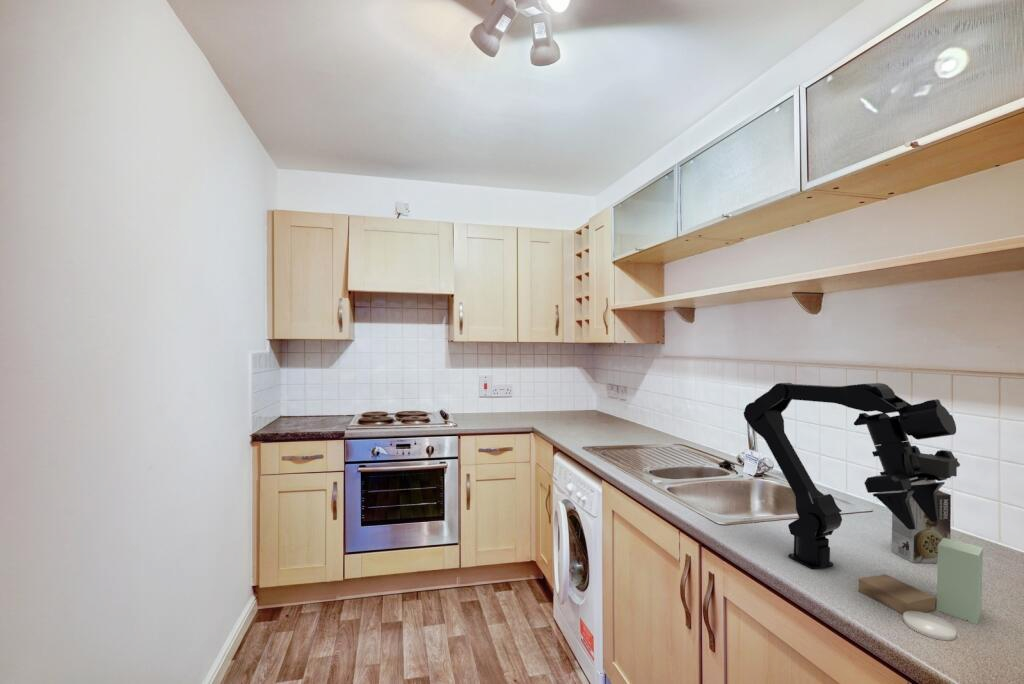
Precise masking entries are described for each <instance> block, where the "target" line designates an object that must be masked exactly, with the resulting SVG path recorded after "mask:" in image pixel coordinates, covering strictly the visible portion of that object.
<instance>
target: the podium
mask: <svg viewBox="0 0 1024 684" xmlns="http://www.w3.org/2000/svg"><path fill="white" fill-rule="evenodd" d="M857 589H858V590H857V591H858V592H859V591H860V593H861V592H862V594H863V593H864V595H865V594H866V595H865V596H867V595H868V596H867V597H869V596H870V597H869V598H871V597H872V598H871V599H873V600H875V601H877V602H879V603H881V604H882V605H884V604H885V605H884V606H886V605H887V607H888V606H889V608H890V607H891V608H890V609H892V608H893V609H892V610H894V611H896V612H898V613H900V614H902V615H903V614H904V612H906V611H919V612H925V613H929V612H934V611H936V596H934V595H931V594H929V593H926V592H925V591H923V590H920V589H918V588H916V587H914V586H912V585H910V584H908V583H905V582H903V581H901V580H899V579H897V578H894V577H893V576H891V575H888V574H886V573H883V574H877V575H873V576H872V575H871V576H867V577H861V578H858V587H857Z"/></svg>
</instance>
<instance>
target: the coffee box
mask: <svg viewBox="0 0 1024 684" xmlns="http://www.w3.org/2000/svg"><path fill="white" fill-rule="evenodd" d="M907 491H908V490H907ZM909 502H910V506H911V510H912V514H913V518H914V522H915V527H916V529H914V530H909V529H908V528H907V527H906V526H905V525H904V524H903V523H902V522H901V521H900V520H899V519H898V518H897V517H896V516H895V515H894V514H893V513H892V512H891V550H890V551H891V552H892V553H894V554H895V555H897V554H898V556H899V557H901V558H903V559H905V560H907V561H909V563H912V564H938V544H939V543H940V542H941V540H942V539H943V538H947V539H951V530H952V529H951V527H952V526H951V519H952V518H951V516H952V515H951V514H952V513H951V512H952V510H951V509H952V508H951V507H952V494H949V493H948V492H947V493H946V492H943V491H942V490H940V489H939V490H938V491H937V509H938V521H937V522H931V521H930V520H929V518H928V517H927V516H926V515H925V513H924V512H923V511H922V509H921V508H920V507H919V505H918V504H917V503H916V501H915V500H914V499H913V497H912V496H911V497H910V499H909Z"/></svg>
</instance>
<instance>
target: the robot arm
mask: <svg viewBox="0 0 1024 684" xmlns="http://www.w3.org/2000/svg"><path fill="white" fill-rule="evenodd" d="M792 400H794V401H807V402H819V403H831V404H837V405H841V406H844V407H847V408H849V409H854V410H858V411H861V412H860V413H858V414H859V415H858V417H857V418H856V419H855V421H854V422H853V426H865V425H866V427H867V430H868V433H869V435H870V437H871V440H872V443H873V446H874V449H875V450H874V451H871V453H872V456H873V457H874V458H875V457H878V459H879V461H880V462H879V463H881V467H882V469H883V471H879V474H880V475H874V476H869V477H866V480H864V482H863V483H864V486H865V489H866V493H868V494H871V493H872V496H873V497H874V498H875V497H876V498H877V499H878V500H879V501H880V502H881V504H883V505H884V506H885V507H886V508H887V509H888V510H889V511H890V512H891V514H892V513H893V514H894V515H895V516H896V517H897V518H898V519H899V520H900V521H901V522H902V523H903V524H904V525H905V526H906V527H907V528H908V529H909V530H914V529H916V527H915V522H914V518H913V514H912V510H911V506H910V502H909V499H910V497H911V496H912V497H913V499H914V500H915V501H916V503H917V504H918V505H919V507H920V508H921V509H922V511H923V512H924V513H925V515H926V516H927V517H928V518H929V520H930V521H931V522H937V521H938V509H937V491H938V490H939V491H940V489H941V488H942V486H944V485H945V481H947V479H950V478H952V477H957V476H958V475H957V472H958V470H957V469H958V468H959V467H960V466H961V464H960V462H959V461H958V458H957V457H955V455H954V454H953V452H952V451H950V450H945V449H944V450H943V449H941V450H937V451H936V453H935V454H932V453H922V452H921V451H920V448H919V447H918V446H917V445H911V442H910V440H909V437H910V436H911V437H913V439H915V440H919V441H920V440H925V439H926V440H927V439H932V438H940V437H945V436H954V435H955V434H956V433H957V424H956V422H955V419H954V416H953V415H952V414H950V412H949V411H948V409H947V408H946V407H945V406H943V404H942V403H941V401H940V399H929V400H926V401H924V402H920V403H916V404H911V403H909V402H907V400H904V399H903V398H901V397H899V396H898V395H896V394H895V392H894V390H893V389H892V388H891V387H890V386H889V385H888V384H886V383H883V382H882V383H881V382H875V383H872V382H871V383H860V384H859V383H858V384H851V385H841V386H839V385H838V386H837V385H820V384H819V385H818V384H817V385H816V384H803V383H802V384H799V383H792V382H779V383H776V384H774V385H773V386H772V387H771V388H770V389H769V390H768V391H766V392H765V393H763V394H762V395H760V396H758V398H756V399H754V401H753V402H750V403H748V404H747V405H746V406H745V408H744V411H743V417H744V420H745V421H746V422H747V424H748V425H749V426H750V428H751V429H752V430H753V431H754V432H755V433H757V435H759V436H760V437H761V438H762V439H763V440H764V441H765V443H766V445H767V446H768V449H769V450H770V452H771V454H772V455H773V457H774V459H775V461H776V463H777V465H778V467H779V468H780V471H781V472H782V474H783V476H784V478H785V479H786V481H787V483H788V485H789V487H790V489H791V490H792V493H793V494H794V500H795V511H796V513H797V516H798V518H797V519H795V520H793V521H792V522H790V523H789V524H788V529H789V530H788V531H789V532H790V535H792V536H793V552H792V553H788V557H789V558H790V559H792V560H795V561H797V562H798V563H800V564H803V565H804V566H806V567H807V568H810V569H812V570H813V569H820V568H828V567H832V566H834V563H833V562H832V561H831V547H830V546H829V544H830V539H829V538H827V537H828V536H831V535H833V533H834V530H837V529H839V527H840V526H841V524H842V522H843V518H842V514H841V512H842V509H841V508H839V507H838V505H837V503H836V501H835V499H834V496H833V495H832V494H831V493H828V494H823V493H822V492H821V491H820V490H819V489H818V488H817V487H816V485H815V483H814V482H813V479H812V478H811V476H810V475H809V473H808V471H807V470H806V467H805V466H804V464H803V462H802V460H801V459H800V457H799V455H798V454H797V451H795V447H794V446H793V445H792V443H791V441H790V439H789V438H788V435H787V434H786V432H785V421H784V417H783V415H782V413H783V412H784V411H786V410H787V408H788V406H789V405H790V403H791V401H792ZM866 412H878V413H876V414H868V413H866ZM891 413H893V414H894V413H898V415H893V416H890V415H888V414H891ZM908 436H909V437H908ZM907 490H908V491H907Z"/></svg>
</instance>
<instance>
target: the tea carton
mask: <svg viewBox="0 0 1024 684" xmlns="http://www.w3.org/2000/svg"><path fill="white" fill-rule="evenodd" d="M983 561H984V547H981V546H978V545H974V544H970V543H966V542H961V541H958V540H954V539H951V538H950V539H947V538H943V539H942V540H941V542H940V543H939V544H938V563H937V572H936V573H937V575H936V576H937V579H936V580H937V581H936V608H935V611H937V610H938V612H940V611H941V613H943V612H944V613H943V614H946V613H947V614H946V615H949V614H950V615H949V616H952V615H953V616H952V617H955V616H956V617H955V618H957V617H959V618H958V619H960V618H962V619H961V620H963V619H965V620H964V621H966V620H968V621H967V622H969V621H970V622H969V623H972V624H975V625H978V623H979V621H980V618H981V616H982V604H983V601H982V600H983V599H982V598H983V571H984V569H983V566H984V565H983V563H984V562H983Z"/></svg>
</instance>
